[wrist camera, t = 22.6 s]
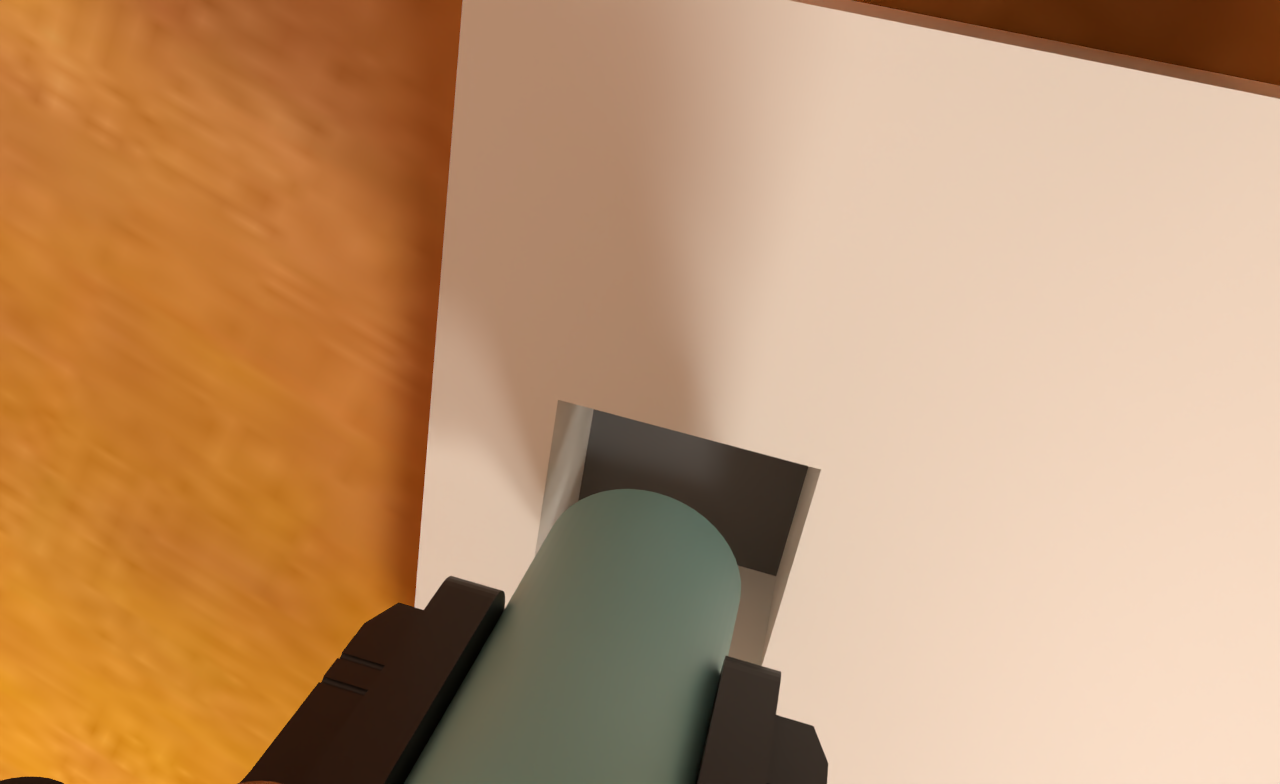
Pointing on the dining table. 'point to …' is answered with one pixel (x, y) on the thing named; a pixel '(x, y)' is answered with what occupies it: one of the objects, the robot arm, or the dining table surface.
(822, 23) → the board
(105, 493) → the dining table surface
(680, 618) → the peg
